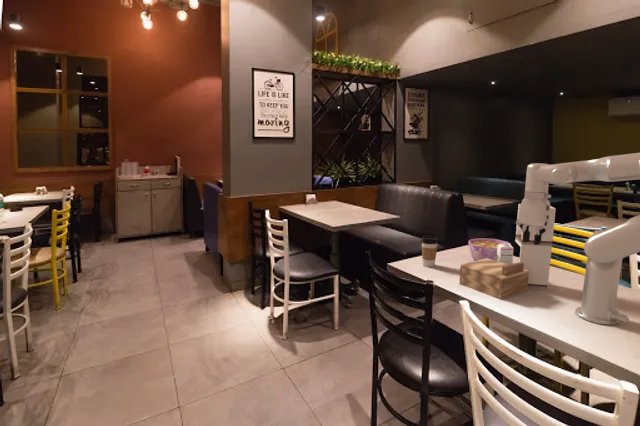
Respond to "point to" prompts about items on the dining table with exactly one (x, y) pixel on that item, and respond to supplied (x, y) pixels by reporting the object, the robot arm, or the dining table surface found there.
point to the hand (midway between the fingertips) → (531, 242)
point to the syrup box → (505, 253)
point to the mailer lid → (496, 268)
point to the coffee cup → (429, 250)
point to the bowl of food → (484, 248)
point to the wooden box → (494, 283)
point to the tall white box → (536, 254)
